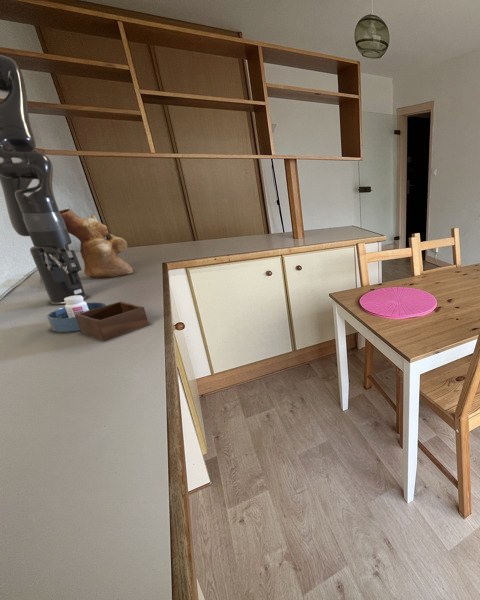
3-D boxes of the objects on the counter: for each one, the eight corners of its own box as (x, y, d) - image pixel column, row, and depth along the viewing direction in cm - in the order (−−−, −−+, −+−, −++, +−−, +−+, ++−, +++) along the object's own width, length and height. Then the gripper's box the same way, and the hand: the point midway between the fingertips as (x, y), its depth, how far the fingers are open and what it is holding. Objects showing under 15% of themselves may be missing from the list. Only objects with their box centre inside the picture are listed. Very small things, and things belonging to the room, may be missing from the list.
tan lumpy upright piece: (140, 273, 148) (121, 208, 137) (78, 285, 131) (51, 211, 120) (126, 268, 156) (107, 205, 145) (66, 278, 139) (39, 208, 128)
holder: (81, 333, 92) (74, 314, 90) (126, 318, 102) (120, 301, 100) (105, 340, 88) (98, 321, 86) (149, 324, 98) (144, 307, 96)
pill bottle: (79, 326, 95) (69, 300, 92) (67, 324, 96) (57, 299, 93) (96, 320, 100) (87, 295, 97) (84, 318, 100) (75, 294, 97)
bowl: (43, 327, 94) (37, 314, 93) (95, 312, 106) (91, 300, 104) (67, 336, 90) (61, 322, 88) (119, 319, 101) (115, 306, 100)
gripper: (78, 228, 88) (97, 283, 94) (51, 225, 93) (71, 277, 99) (42, 232, 82) (65, 290, 88) (15, 228, 87) (38, 284, 92)
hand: (68, 283), depth 93 cm, fingers open, 8 cm apart
